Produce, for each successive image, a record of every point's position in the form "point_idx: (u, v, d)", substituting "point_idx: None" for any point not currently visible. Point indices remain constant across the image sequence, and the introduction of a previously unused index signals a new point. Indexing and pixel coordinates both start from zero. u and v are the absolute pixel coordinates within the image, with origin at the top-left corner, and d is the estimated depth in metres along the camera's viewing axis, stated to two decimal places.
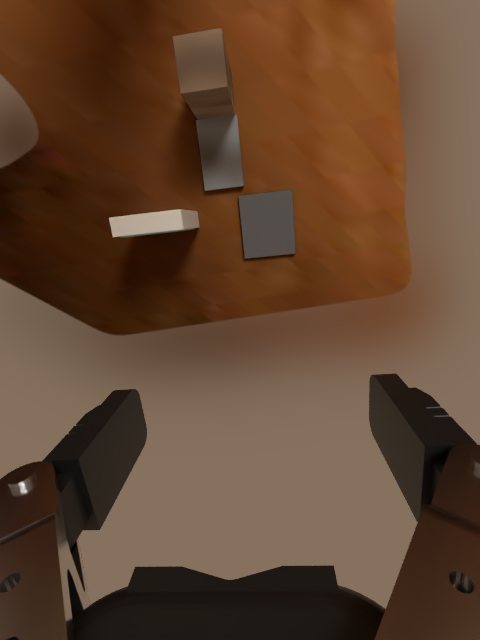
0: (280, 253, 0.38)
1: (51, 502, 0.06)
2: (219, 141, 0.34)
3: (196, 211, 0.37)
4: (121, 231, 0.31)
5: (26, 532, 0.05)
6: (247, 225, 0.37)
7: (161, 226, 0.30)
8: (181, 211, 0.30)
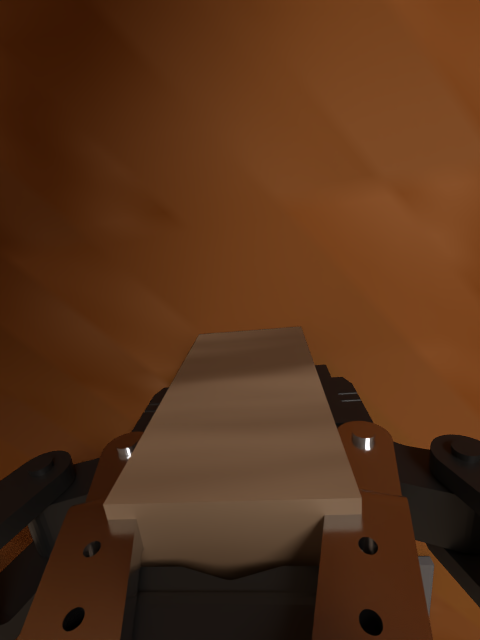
0: None
1: None
2: None
3: None
4: None
5: None
6: None
7: None
8: None
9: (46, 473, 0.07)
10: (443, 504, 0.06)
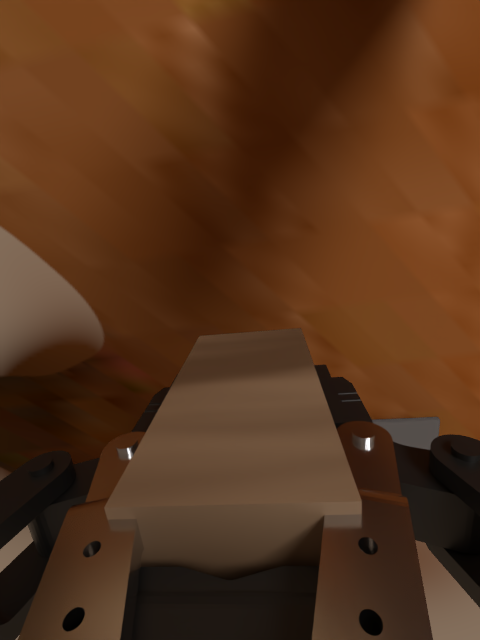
0: None
1: None
2: None
3: None
4: None
5: None
6: None
7: None
8: None
9: (46, 473, 0.07)
10: (443, 504, 0.06)
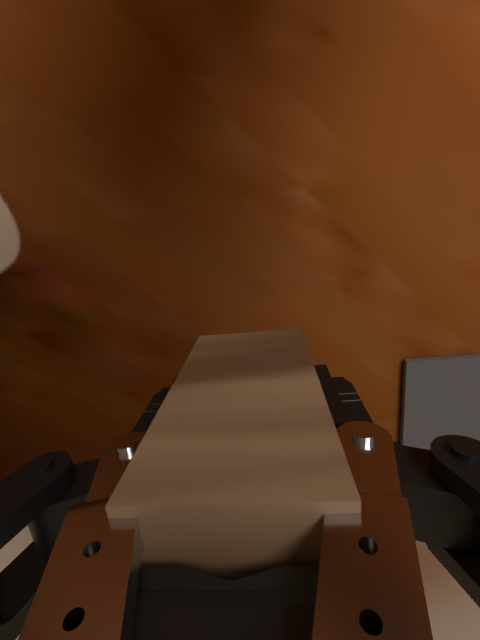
0: None
1: None
2: None
3: None
4: None
5: None
6: (415, 409, 0.20)
7: None
8: None
9: (46, 473, 0.07)
10: (443, 504, 0.06)
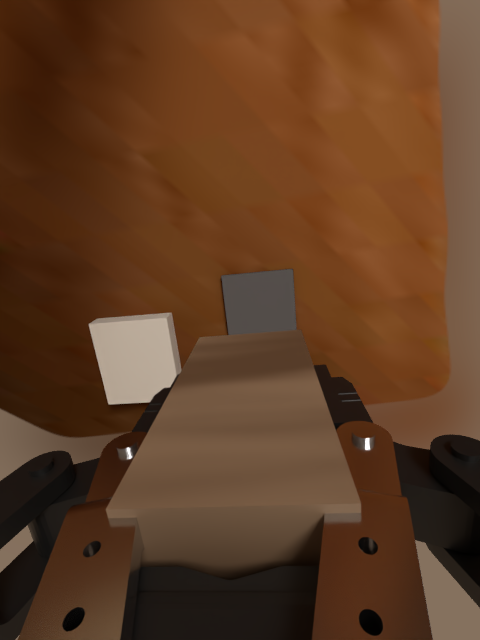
0: None
1: None
2: None
3: (167, 323, 0.27)
4: None
5: None
6: (233, 312, 0.28)
7: None
8: None
9: (46, 473, 0.07)
10: (443, 504, 0.06)
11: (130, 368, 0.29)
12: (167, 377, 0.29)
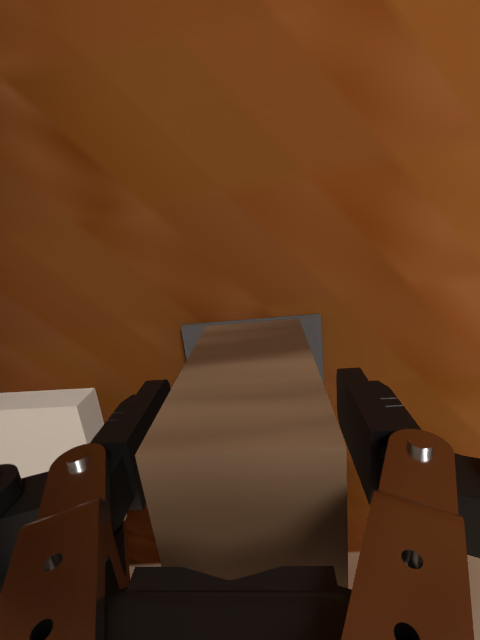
0: None
1: (99, 485, 0.07)
2: None
3: (79, 416, 0.14)
4: None
5: (72, 514, 0.05)
6: None
7: None
8: None
9: None
10: None
11: None
12: None
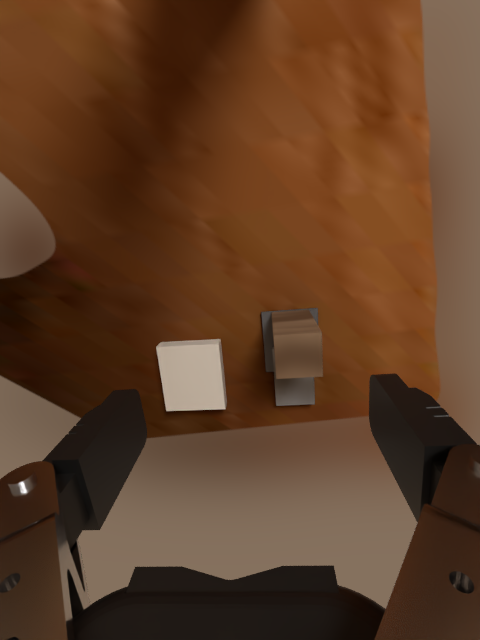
0: None
1: (51, 502, 0.06)
2: None
3: (219, 348, 0.35)
4: None
5: (26, 532, 0.05)
6: (269, 340, 0.36)
7: None
8: (225, 406, 0.37)
9: None
10: None
11: (186, 382, 0.36)
12: (215, 390, 0.36)
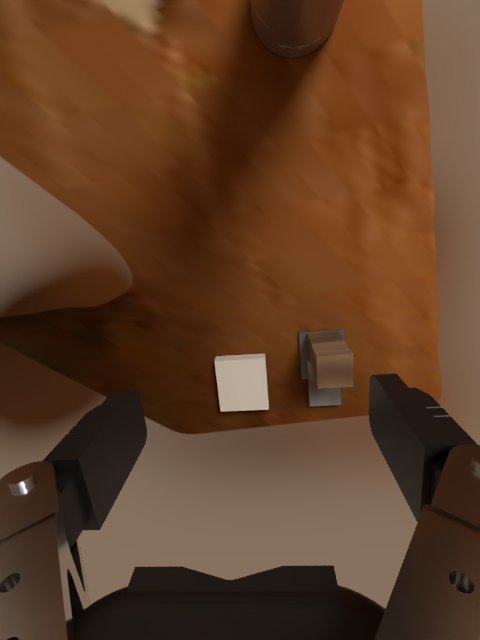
0: None
1: (51, 502, 0.06)
2: None
3: (265, 361, 0.44)
4: None
5: (26, 532, 0.05)
6: (304, 354, 0.44)
7: None
8: (268, 407, 0.46)
9: None
10: None
11: (238, 388, 0.45)
12: (261, 394, 0.45)
